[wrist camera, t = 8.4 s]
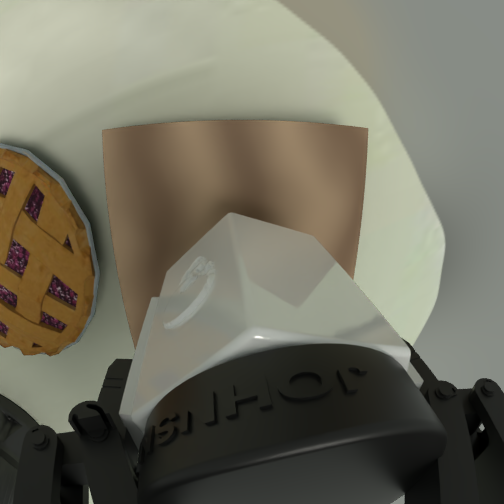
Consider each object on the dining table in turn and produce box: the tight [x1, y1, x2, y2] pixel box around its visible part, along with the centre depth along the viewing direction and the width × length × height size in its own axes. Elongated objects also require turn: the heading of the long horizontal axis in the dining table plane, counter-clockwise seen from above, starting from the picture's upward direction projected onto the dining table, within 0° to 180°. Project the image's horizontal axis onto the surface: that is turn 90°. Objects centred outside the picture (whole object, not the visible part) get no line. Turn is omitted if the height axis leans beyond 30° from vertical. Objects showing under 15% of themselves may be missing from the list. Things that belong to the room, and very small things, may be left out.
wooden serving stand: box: [102, 120, 368, 350], centre depth 24 cm, size 18×18×5 cm
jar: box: [131, 213, 447, 504], centre depth 11 cm, size 9×8×12 cm
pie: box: [0, 143, 100, 356], centre depth 22 cm, size 22×22×5 cm
